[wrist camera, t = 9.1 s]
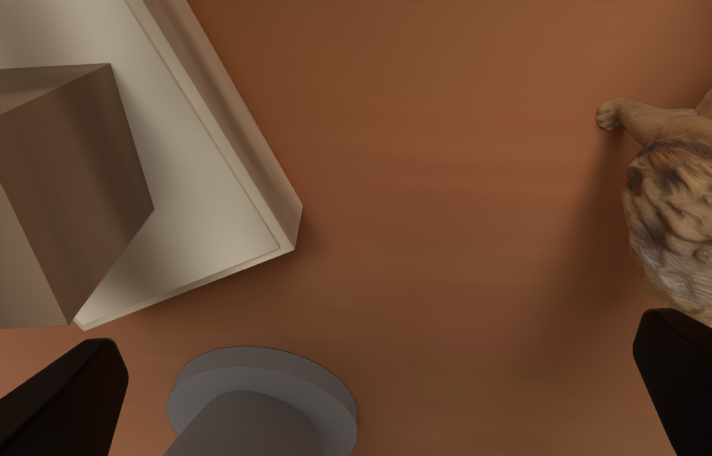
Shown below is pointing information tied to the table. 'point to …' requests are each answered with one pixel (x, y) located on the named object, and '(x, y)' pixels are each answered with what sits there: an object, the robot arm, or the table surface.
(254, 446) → the vase
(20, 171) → the grey-brown block
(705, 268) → the lion figurine
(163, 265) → the cream flat block
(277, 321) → the table surface
